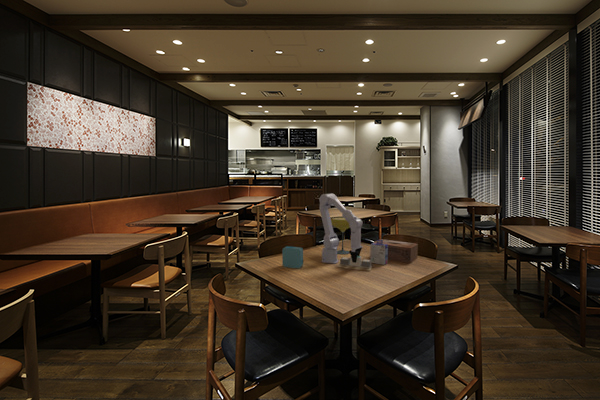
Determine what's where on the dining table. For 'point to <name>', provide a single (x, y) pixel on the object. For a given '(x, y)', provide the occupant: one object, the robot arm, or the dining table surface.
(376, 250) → the ink cartridge box
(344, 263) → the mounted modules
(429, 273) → the dining table surface
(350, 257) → the block
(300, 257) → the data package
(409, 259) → the tissue box cover
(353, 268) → the rail board
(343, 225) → the cocktail glass
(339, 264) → the din rail
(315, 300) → the dining table surface
